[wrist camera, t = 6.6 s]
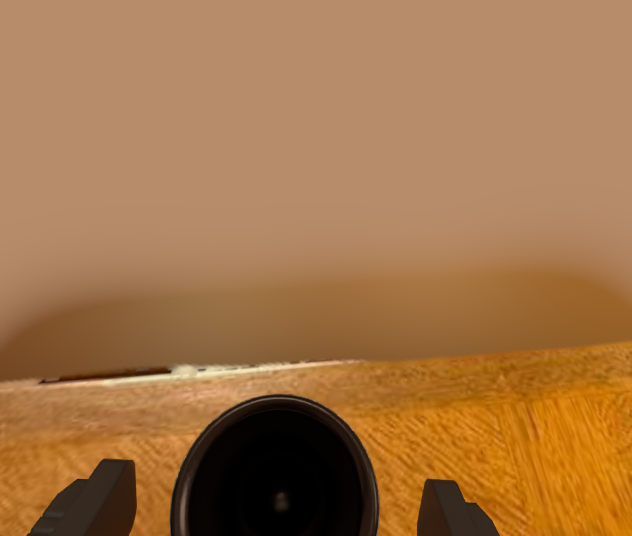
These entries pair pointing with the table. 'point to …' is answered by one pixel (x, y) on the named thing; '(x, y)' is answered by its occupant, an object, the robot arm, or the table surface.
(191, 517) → the planter
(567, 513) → the table surface
